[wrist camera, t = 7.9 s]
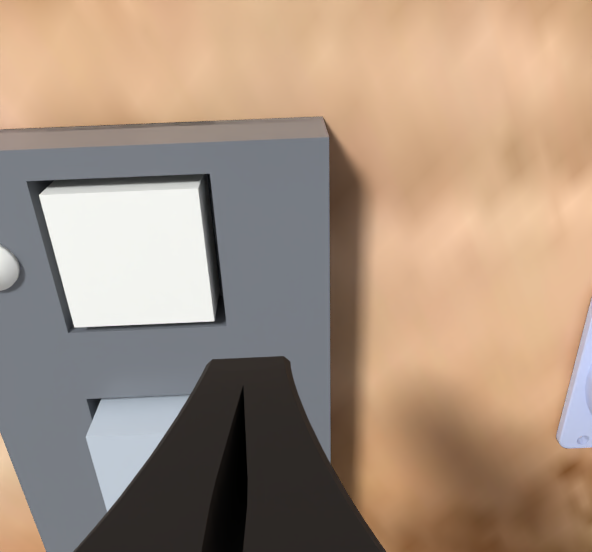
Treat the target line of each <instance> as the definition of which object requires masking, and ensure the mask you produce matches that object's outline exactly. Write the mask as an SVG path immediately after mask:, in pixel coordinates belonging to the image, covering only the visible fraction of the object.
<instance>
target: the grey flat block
mask: <svg viewBox="0 0 592 552" xmlns="http://www.w3.org/2000/svg"><path fill="white" fill-rule="evenodd" d="M188 174H207V181H208V190H209V199H210V207H211V216H212V225H213V234H214V243H215V251H216V260H217V269H218V278H219V287H220V293H219V298H218V304H217V309H216V315H215V321H210V322H188V323H165V324H142V325H120V326H97V327H74V324H73V321H72V317H71V313H70V309H69V306H68V302H67V298H66V295H65V291H64V287H63V283H62V280H61V276H60V272H59V268H58V265H57V261H56V257H55V253H54V250H53V246H52V242H51V239H50V235H49V231H48V227H47V224H46V220H45V216H44V212H43V209H42V205H41V201H40V198H39V194H41V193H42V192H43V191H44V190H45V189H46V188H47V187H48V186H49V185H50V184H51V183H52V182H53V181H54V180H67V179H91V178H115V177H139V176H164V175H188ZM273 356H284V357H286V358H287V359H288V360H289V361H290V363H291V370H292V375H293V379H294V382H295V386H296V389H297V392H298V395H299V397H300V400H301V402H302V405H303V408H304V410H305V412H306V415H307V417H308V419H309V422H310V424H311V426H312V428H313V430H314V432H315V434H316V436H317V438H318V440H319V442H320V444H321V446H322V449H323V451H324V452H325V454H326V456H327V458H328V460H329V462H330V464H331V430H330V217H329V135H328V132H327V129H326V126H325V122H324V119H323V117H299V118H274V119H249V120H225V121H200V122H175V123H150V124H126V125H101V126H76V127H52V128H27V129H2V130H0V433H1V435H2V438H3V440H4V443H5V446H6V448H7V451H8V453H9V456H10V459H11V461H12V464H13V466H14V469H15V472H16V474H17V477H18V479H19V482H20V484H21V487H22V490H23V492H24V495H25V497H26V500H27V503H28V505H29V508H30V510H31V513H32V516H33V518H34V521H35V523H36V526H37V529H38V531H39V534H40V536H41V539H42V541H43V544H44V547H45V549H46V552H73V551H74V550H75V549H76V548H77V547H78V546H79V544H80V543H81V542H82V541H83V540H84V539H85V538H86V537H87V535H88V534H89V533H90V532H91V531H92V530H93V529H94V527H95V526H96V525H97V524H98V523H99V521H100V520H101V519H102V518H103V517H104V515H105V514H106V513H107V509H106V506H105V502H104V499H103V496H102V492H101V489H100V485H99V482H98V478H97V475H96V471H95V468H94V464H93V461H92V458H91V454H90V451H89V447H88V444H87V440H86V435H87V432H88V430H89V428H90V425H91V423H92V420H93V418H94V415H95V413H96V411H97V408H98V406H99V403H100V401H101V398H120V397H142V396H164V395H186V394H191V392H192V391H193V389H194V387H195V385H196V384H197V382H198V380H199V378H200V376H201V374H202V372H203V370H204V369H205V367H206V365H207V364H208V363H209V362H210V361H211V360H212V359H228V358H251V357H273Z"/></svg>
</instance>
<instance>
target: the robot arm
mask: <svg viewBox="0 0 592 552" xmlns="http://www.w3.org/2000/svg"><path fill="white" fill-rule="evenodd" d="M581 436H582V437H581ZM556 439H557V440H558V442H559V444H560V445H561V446H562V447H564V448H588V447H592V298H591V302H590V306H589V310H588V314H587V318H586V322H585V326H584V329H583V333H582V337H581V341H580V345H579V349H578V353H577V357H576V361H575V364H574V368H573V372H572V376H571V380H570V384H569V388H568V392H567V396H566V400H565V403H564V407H563V411H562V415H561V419H560V423H559V427H558V431H557V435H556ZM73 552H386V551H385V549H384V548H383V547H382V545H381V544H380V542H379V541H378V539H377V538H376V536H375V535H374V534H373V532H372V531H371V529H370V528H369V526H368V525H367V523H366V522H365V520H364V519H363V517H362V516H361V514H360V513H359V511H358V509H357V508H356V506H355V505H354V503H353V501H352V500H351V498H350V497H349V495H348V493H347V492H346V490H345V488H344V487H343V485H342V483H341V481H340V480H339V478H338V476H337V474H336V473H335V471H334V469H333V467H332V466H331V464H330V462H329V460H328V458H327V456H326V454H325V452H324V451H323V449H322V446H321V444H320V442H319V440H318V438H317V436H316V434H315V432H314V430H313V428H312V426H311V424H310V422H309V419H308V417H307V415H306V412H305V410H304V408H303V405H302V402H301V400H300V397H299V395H298V392H297V389H296V386H295V382H294V379H293V375H292V370H291V363H290V361H289V360H288V359H287V358H286V357H284V356H273V357H251V358H228V359H212V360H211V361H210V362H209V363H208V364H207V365H206V367H205V369H204V370H203V372H202V374H201V376H200V378H199V380H198V382H197V384H196V385H195V387H194V389H193V391H192V392H191V394H190V396H189V397H188V399H187V401H186V402H185V404H184V406H183V407H182V409H181V411H180V412H179V414H178V415H177V417H176V418H175V420H174V421H173V423H172V424H171V426H170V427H169V429H168V430H167V432H166V434H165V435H164V437H163V438H162V440H161V441H160V443H159V444H158V446H157V447H156V449H155V450H154V451H153V453H152V454H151V456H150V457H149V458H148V460H147V461H146V462H145V464H144V465H143V466H142V468H141V469H140V470H139V472H138V473H137V474H136V476H135V477H134V478H133V480H132V481H131V482H130V484H129V485H128V486H127V488H126V489H125V490H124V492H123V493H122V494H121V496H120V497H119V498H118V499H117V501H116V502H115V503H114V504H113V506H112V507H111V508H110V509H109V511H108V512H107V513H106V514H105V515H104V517H103V518H102V519H101V520H100V521H99V523H98V524H97V525H96V526H95V527H94V529H93V530H92V531H91V532H90V533H89V534H88V535H87V537H86V538H85V539H84V540H83V541H82V542H81V543H80V544H79V546H78V547H77V548H76V549H75V550H74V551H73Z"/></svg>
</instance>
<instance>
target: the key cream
mask: <svg viewBox="0 0 592 552" xmlns="http://www.w3.org/2000/svg"><path fill="white" fill-rule="evenodd" d="M39 198H40V201H41V205H42V209H43V212H44V216H45V220H46V224H47V227H48V231H49V235H50V239H51V242H52V246H53V250H54V253H55V257H56V261H57V265H58V268H59V272H60V276H61V280H62V283H63V287H64V291H65V295H66V298H67V302H68V306H69V309H70V313H71V317H72V321H73V324H74V327H97V326H120V325H142V324H165V323H188V322H210V321H215V315H216V309H217V304H218V298H219V293H220V287H219V278H218V269H217V260H216V251H215V243H214V234H213V225H212V216H211V207H210V199H209V190H208V181H207V174H188V175H164V176H139V177H115V178H91V179H67V180H54V181H53V182H52V183H51V184H50V185H49V186H48V187H47V188H46V189H45V190H44V191H43V192H42V193H41V194H39Z"/></svg>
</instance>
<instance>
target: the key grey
mask: <svg viewBox="0 0 592 552" xmlns="http://www.w3.org/2000/svg"><path fill="white" fill-rule="evenodd" d="M189 396H190V394H186V395H164V396H142V397H120V398H101V401H100V403H99V406H98V408H97V411H96V413H95V415H94V418H93V420H92V423H91V425H90V428H89V430H88V432H87V435H86V440H87V444H88V447H89V451H90V454H91V458H92V461H93V464H94V468H95V471H96V475H97V478H98V482H99V485H100V489H101V492H102V496H103V499H104V502H105V506H106V509H107V512H108V511H109V509H110V508H111V507H112V506H113V504H114V503H115V502H116V501H117V499H118V498H119V497H120V496H121V494H122V493H123V492H124V490H125V489H126V488H127V486H128V485H129V484H130V482H131V481H132V480H133V478H134V477H135V476H136V474H137V473H138V472H139V470H140V469H141V468H142V466H143V465H144V464H145V462H146V461H147V460H148V458H149V457H150V456H151V454H152V453H153V451H154V450H155V449H156V447H157V446H158V444H159V443H160V441H161V440H162V438H163V437H164V435H165V434H166V432H167V430H168V429H169V427H170V426H171V424H172V423H173V421H174V420H175V418H176V417H177V415H178V414H179V412H180V411H181V409H182V407H183V406H184V404H185V402H186V401H187V399H188V397H189Z"/></svg>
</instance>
